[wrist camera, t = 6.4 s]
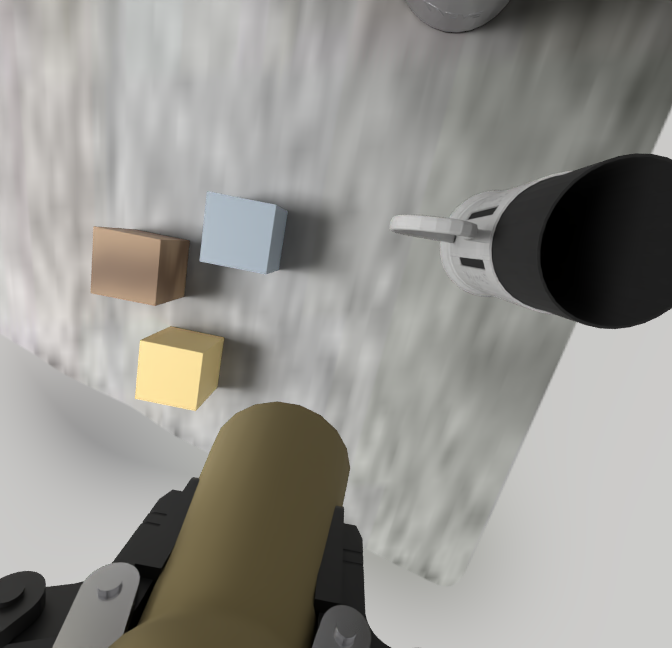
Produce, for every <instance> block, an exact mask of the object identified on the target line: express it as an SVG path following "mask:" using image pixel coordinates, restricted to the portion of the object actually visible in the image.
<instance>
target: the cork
mask: <svg viewBox="0 0 672 648" xmlns="http://www.w3.org/2000/svg"><path fill="white" fill-rule="evenodd" d="M349 471H350V465H349V459H348V453H347V448H346V446H345V444H344V443H343V441H342V439H341V437H340V435H339V434H338V432H337V430H336V429H335V428H334V427H333V426H332V425H330V424H329V423H328V422H327V421H326V420H325V419H324V418H323V417H322V416H321V415H319V414H317V413H315V412H313V411H311V410H309V409H307V408H305V407H302V406H300V405H295V404H289V403H283V402H270V403H263V404H255V405H253V406H251V407H249V408H247V409H244V410H242V411H240V412H238V413H236V414H235V415H234V416H233V417H232V418H231V419H230V420H229V421H228V422H227V423H226V424H225V425H223V426H222V427H221V429H220V431H219V433H218V435H217V437H216V439H215V442H214V444H213V446H212V448H211V451H210V453H209V455H208V458H207V460H206V462H205V465H204V467H203V470H202V472H201V474H200V477H199V478H200V479H199V483H198V485H197V488H196V491H195V493H194V496H193V499H192V501H191V504H190V506H189V509H188V512H187V514H186V517H185V520H184V522H183V525H182V528H181V530H180V533H179V535H178V538H177V541H176V543H175V546H174V548H173V550H172V552H171V554H170V556H169V558H168V560H167V562H166V564H165V566H164V568H163V570H162V572H161V574H160V575H159V577H158V579H157V581H156V583H155V585H154V587H153V589H152V592H151V594H150V596H149V599H148V601H147V603H146V605H145V608H144V610H143V613H142V615H141V617H140V620H139V622H138V625H137V627H135V628H134V629H132V630H130V631H128V632H127V633H125V634H123V635H122V636H121V637H120V638H118V639H117V640H116V641H115V642H114V643H113V644H112V645H110V646H109V647H108V648H312V646H313V641H314V635H315V630H316V625H317V619H316V614H315V609H314V598H315V590H316V582H317V575H318V572H319V568H320V564H321V561H322V557H323V553H324V549H325V545H326V541H327V537H328V533H329V529H330V525H331V521H332V517H333V513H334V509H335V507H336V506H343V501H344V496H345V491H346V487H347V481H348V476H349Z"/></svg>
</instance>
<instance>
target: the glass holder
mask: <svg viewBox="0 0 672 648" xmlns="http://www.w3.org/2000/svg"><path fill="white" fill-rule="evenodd" d="M390 230H391V231H393V232H395V233H399V234H403V235H408V236H413V237H419V238H425V239H431V240H437V241H440V257H441V261H442V265H443V267H444V269H445V271H446V274H447V275H448V276H449V278H450V279H451V280H452V281H453V282H454V283H455V284H456V285H457V286H458V287H459V288H461V289H463V290H464V291H466V292H468V293H471V294H474V295H478V296H490V297H491V296H495V297H498V298H501V299H503V300H506V301H509V302H512V303H514V304H517V305H520V306H523V307H526V308H528V309H531V310H534V311H538V312H542V313H546V314H555V315H558V316H561V317H564V318H567V319H570V320H573V321H576V322H579V323H582V324H584V325H588V326H592V327H597V328H605V329H618V328H626V327H632V326H635V325H639V324H643V323H646V322H648V321H650V320H652V319H654V318H657V317H658V316H660V315H662V314H663V313H665V312H667V311H668V310H670V309H671V308H672V160H671V159H669V158H667V157H662V156H658V155H654V154H629V155H623V156H618V157H615V158H612V159H609V160H606V161H603V162H600V163H596V164H593V165H590V166H587V167H584V168H581V169H578V170H575V171H567V172H561V173H556V174H552V175H549V176H546V177H543V178H540V179H537V180H534V181H531V182H529V183H526V184H523V185H520V186H517V187H514V188H511V189H508V190H492V191H486V192H482V193H479V194H476V195H474V196H472V197H470V198H469V199H467V200H465V201H464V202H463V203H462V204H460V205H459V206H458V207H457V208H456V209H455V210H454V211H453V213H452V214H451V215H450V217H449V218H444V217H436V216H425V215H398V216H394V217H393V218H392V219H391V222H390Z"/></svg>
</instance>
